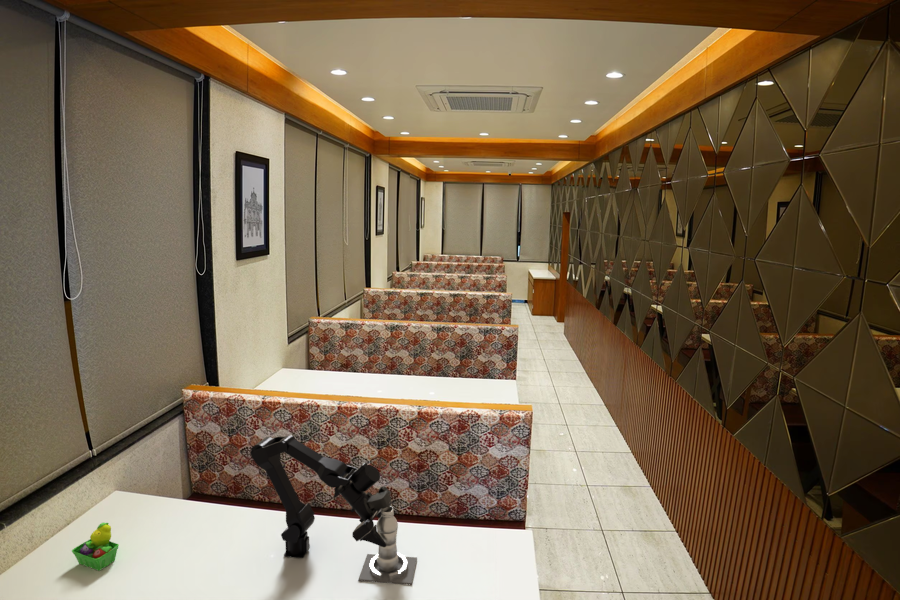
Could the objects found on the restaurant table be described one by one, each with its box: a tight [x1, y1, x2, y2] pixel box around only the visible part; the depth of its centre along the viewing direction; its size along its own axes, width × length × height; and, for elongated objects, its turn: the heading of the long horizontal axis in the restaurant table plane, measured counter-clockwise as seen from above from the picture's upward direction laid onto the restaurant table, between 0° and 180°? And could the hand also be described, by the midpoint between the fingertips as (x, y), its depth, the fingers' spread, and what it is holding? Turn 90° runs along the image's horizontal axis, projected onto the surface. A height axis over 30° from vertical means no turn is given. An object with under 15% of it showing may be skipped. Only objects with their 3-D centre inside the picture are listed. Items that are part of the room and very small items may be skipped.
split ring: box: [370, 551, 407, 581], centre depth 163 cm, size 11×11×2 cm
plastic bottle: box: [376, 505, 399, 572], centre depth 162 cm, size 6×7×20 cm
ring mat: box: [358, 553, 418, 586], centre depth 164 cm, size 16×12×1 cm
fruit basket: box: [71, 522, 120, 571], centre depth 164 cm, size 11×9×11 cm
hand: (391, 537), depth 161 cm, fingers open, 9 cm apart
